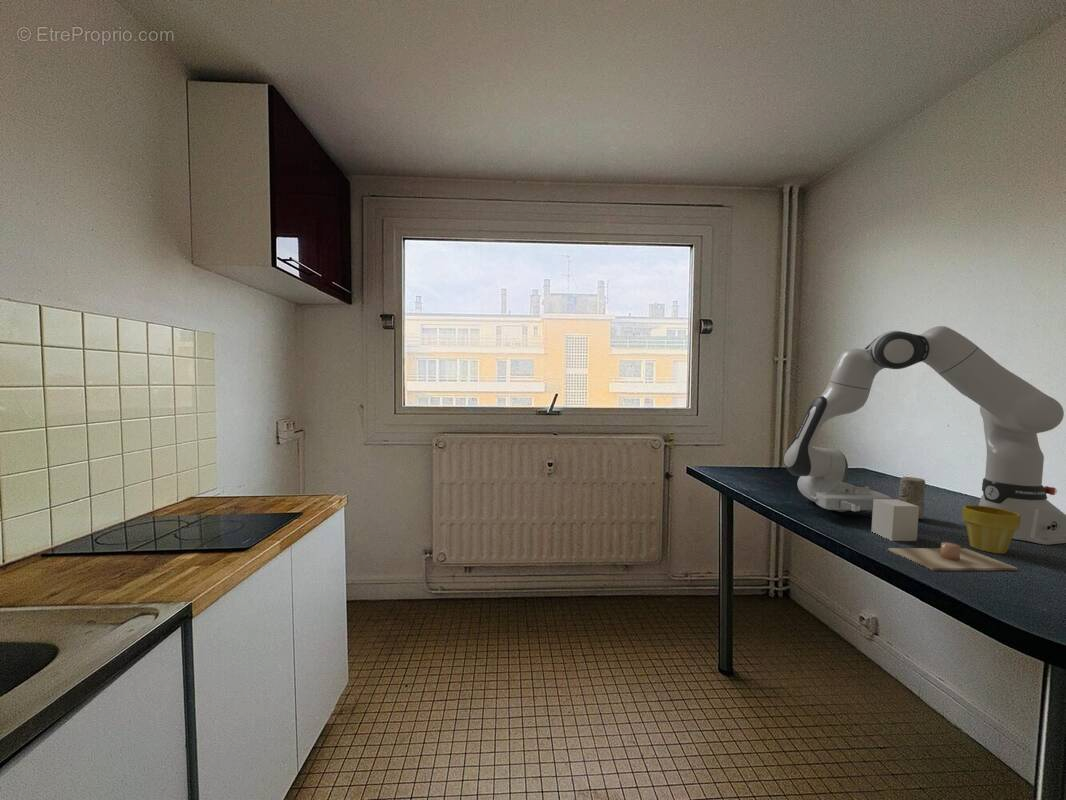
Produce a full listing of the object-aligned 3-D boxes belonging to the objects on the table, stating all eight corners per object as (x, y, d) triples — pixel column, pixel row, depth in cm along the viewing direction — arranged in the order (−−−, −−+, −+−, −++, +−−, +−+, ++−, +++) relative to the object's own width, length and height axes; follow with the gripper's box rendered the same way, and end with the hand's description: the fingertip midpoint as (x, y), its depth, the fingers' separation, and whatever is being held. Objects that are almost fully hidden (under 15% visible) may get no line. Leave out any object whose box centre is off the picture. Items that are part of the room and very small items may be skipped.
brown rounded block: (949, 554, 114) (950, 542, 114) (963, 560, 110) (964, 547, 110) (936, 554, 113) (937, 542, 113) (949, 560, 110) (950, 547, 110)
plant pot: (993, 543, 125) (996, 505, 124) (1029, 558, 114) (1033, 517, 114) (949, 540, 126) (952, 503, 125) (982, 555, 115) (985, 514, 115)
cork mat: (965, 550, 119) (965, 548, 119) (1017, 570, 107) (1017, 568, 107) (887, 550, 117) (887, 548, 117) (932, 570, 105) (932, 568, 105)
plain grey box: (895, 532, 131) (897, 499, 131) (916, 540, 125) (919, 506, 124) (871, 532, 131) (873, 499, 130) (891, 540, 124) (894, 506, 124)
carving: (922, 516, 148) (925, 477, 147) (925, 522, 141) (928, 481, 141) (896, 513, 151) (898, 474, 150) (898, 518, 145) (901, 478, 144)
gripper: (807, 485, 148) (838, 497, 134) (870, 486, 149) (908, 497, 135) (805, 506, 148) (837, 519, 134) (869, 506, 149) (907, 520, 136)
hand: (873, 508), depth 135 cm, fingers open, 8 cm apart
